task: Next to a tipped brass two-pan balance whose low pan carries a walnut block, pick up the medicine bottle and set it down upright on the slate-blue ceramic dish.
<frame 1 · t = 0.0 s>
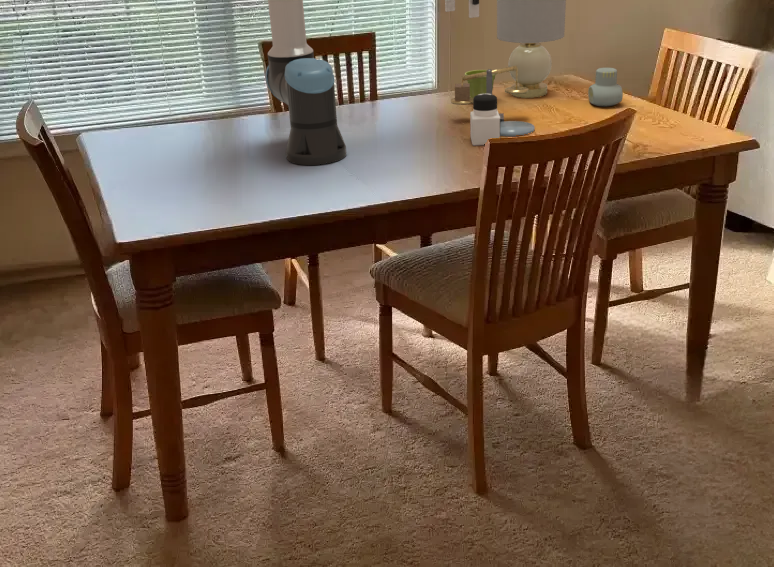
hand: (461, 14, 234), 28 cm above the table, tool pointing down, fingers open, 13 cm apart
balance: (489, 120, 240), on the table
medicine bottle: (485, 142, 223), on the table
lamp: (529, 94, 265), on the table
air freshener: (604, 105, 250), on the table
plant pot: (480, 102, 259), on the table
dish: (511, 130, 230), on the table
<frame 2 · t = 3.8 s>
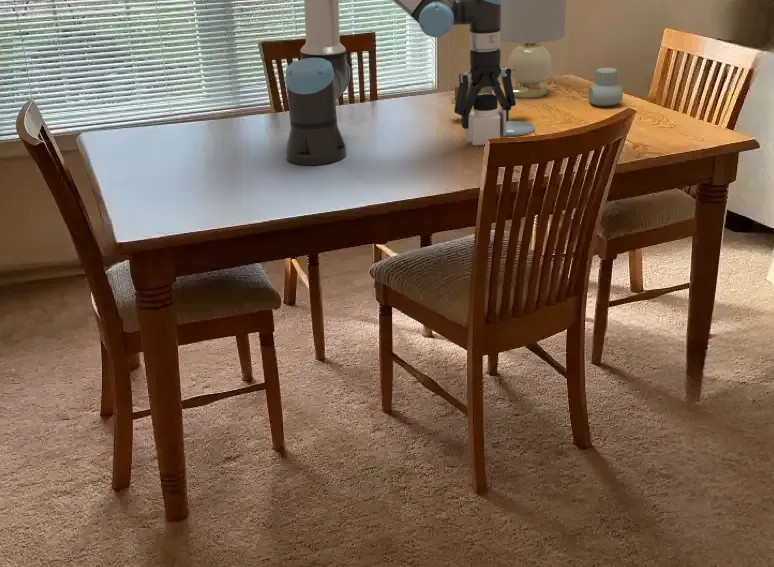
hand: (485, 137, 222), 1 cm above the table, tool pointing down, fingers closed on medicine bottle, 9 cm apart
medicine bottle: (485, 142, 223), on the table, touching gripper
everything else where it was.
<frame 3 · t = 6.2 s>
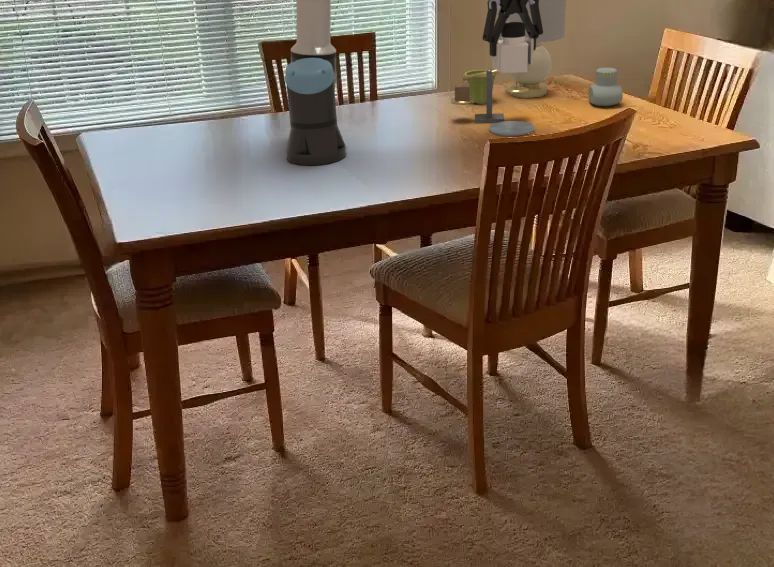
hand: (512, 66, 223), 17 cm above the table, tool pointing down, fingers closed on medicine bottle, 9 cm apart
medicine bottle: (512, 70, 223), point 16 cm above the table, touching gripper
everything else where it was.
when the fingers open (3 cm above the table, at t = 9.1 s): medicine bottle drops 2 cm, resting on dish.
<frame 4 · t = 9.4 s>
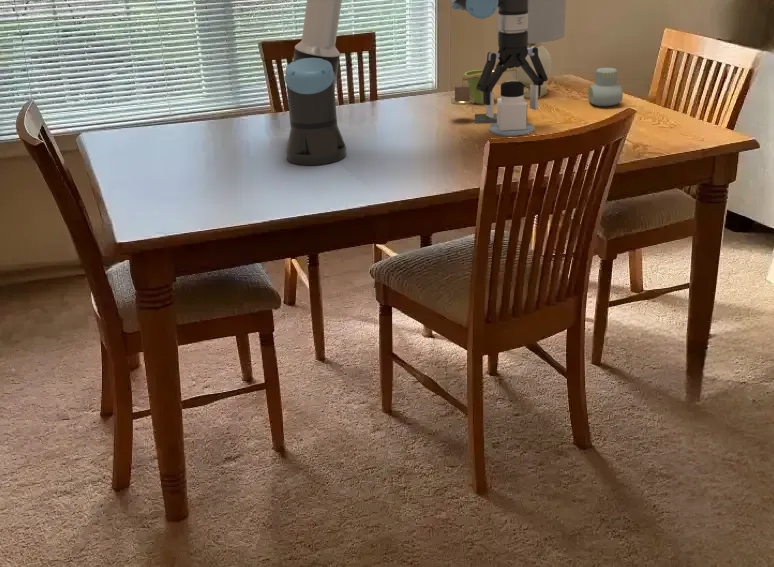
hand: (512, 112, 228), 5 cm above the table, tool pointing down, fingers open, 13 cm apart
medicine bottle: (511, 127, 230), point 1 cm above the table, touching dish
everything else where it was.
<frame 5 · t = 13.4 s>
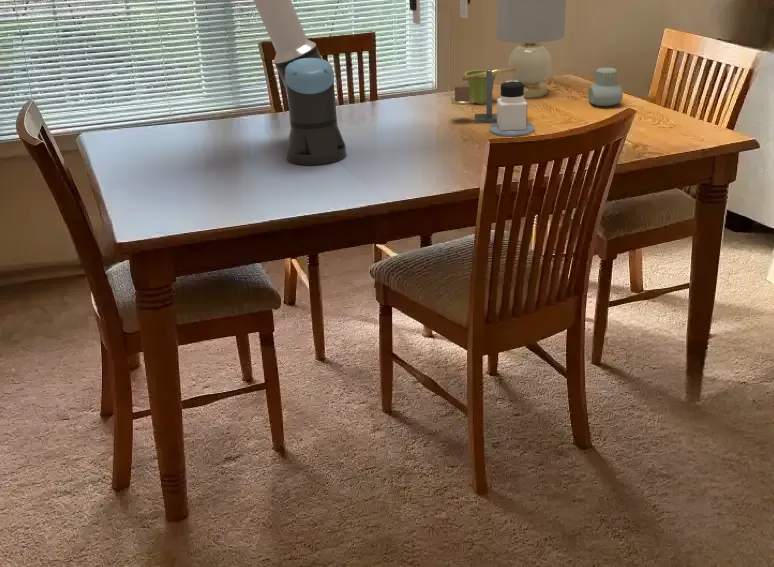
hand: (440, 20, 222), 29 cm above the table, tool pointing down, fingers open, 13 cm apart
nothing on the table moved.
at the end: medicine bottle inside the target area on the dish (0.0 cm from its centre), point 0.6 cm above the dish's base; medicine bottle tilted 0°; the gripper is holding nothing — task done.
